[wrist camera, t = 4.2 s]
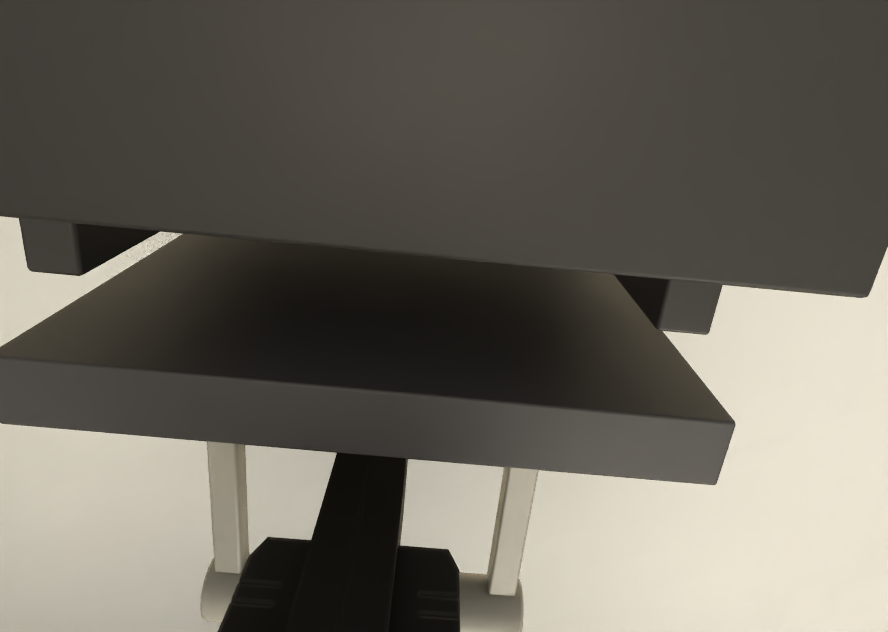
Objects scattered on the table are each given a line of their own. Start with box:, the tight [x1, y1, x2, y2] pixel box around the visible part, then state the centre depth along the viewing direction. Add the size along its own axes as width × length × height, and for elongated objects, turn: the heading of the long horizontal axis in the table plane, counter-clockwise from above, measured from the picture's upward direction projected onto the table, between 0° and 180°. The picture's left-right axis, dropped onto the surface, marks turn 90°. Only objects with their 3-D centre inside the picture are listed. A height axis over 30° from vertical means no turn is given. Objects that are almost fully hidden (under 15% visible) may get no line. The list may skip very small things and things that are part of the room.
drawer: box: [0, 218, 735, 632], centre depth 12 cm, size 21×11×9 cm, turn 175°
